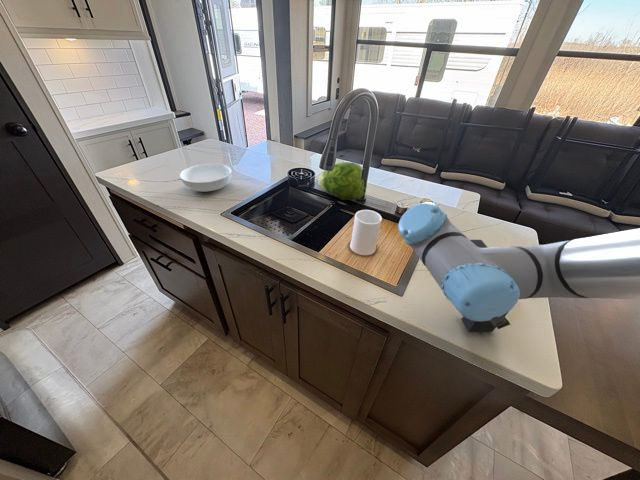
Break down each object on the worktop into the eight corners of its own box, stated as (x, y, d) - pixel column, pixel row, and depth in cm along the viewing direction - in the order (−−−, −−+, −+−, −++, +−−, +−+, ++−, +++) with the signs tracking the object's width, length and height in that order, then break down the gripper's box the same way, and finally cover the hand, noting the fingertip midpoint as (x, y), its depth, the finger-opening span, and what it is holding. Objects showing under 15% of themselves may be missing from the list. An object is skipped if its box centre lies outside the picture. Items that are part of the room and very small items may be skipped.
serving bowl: (237, 176, 122) (235, 163, 118) (228, 198, 106) (225, 182, 102) (193, 176, 121) (189, 162, 117) (176, 197, 104) (171, 182, 100)
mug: (354, 231, 91) (359, 202, 83) (378, 237, 89) (385, 207, 81) (347, 252, 82) (351, 221, 74) (373, 258, 80) (380, 227, 72)
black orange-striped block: (492, 331, 60) (516, 302, 53) (468, 332, 60) (489, 302, 53) (484, 319, 63) (506, 289, 56) (460, 319, 62) (479, 289, 56)
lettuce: (332, 188, 123) (323, 159, 114) (374, 185, 112) (367, 152, 103) (318, 207, 113) (307, 177, 104) (363, 206, 102) (354, 172, 93)
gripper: (422, 248, 56) (465, 297, 67) (457, 310, 43) (503, 358, 54) (454, 229, 54) (493, 283, 65) (501, 289, 40) (541, 344, 51)
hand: (497, 317), depth 59 cm, fingers closed on black orange-striped block, 3 cm apart
